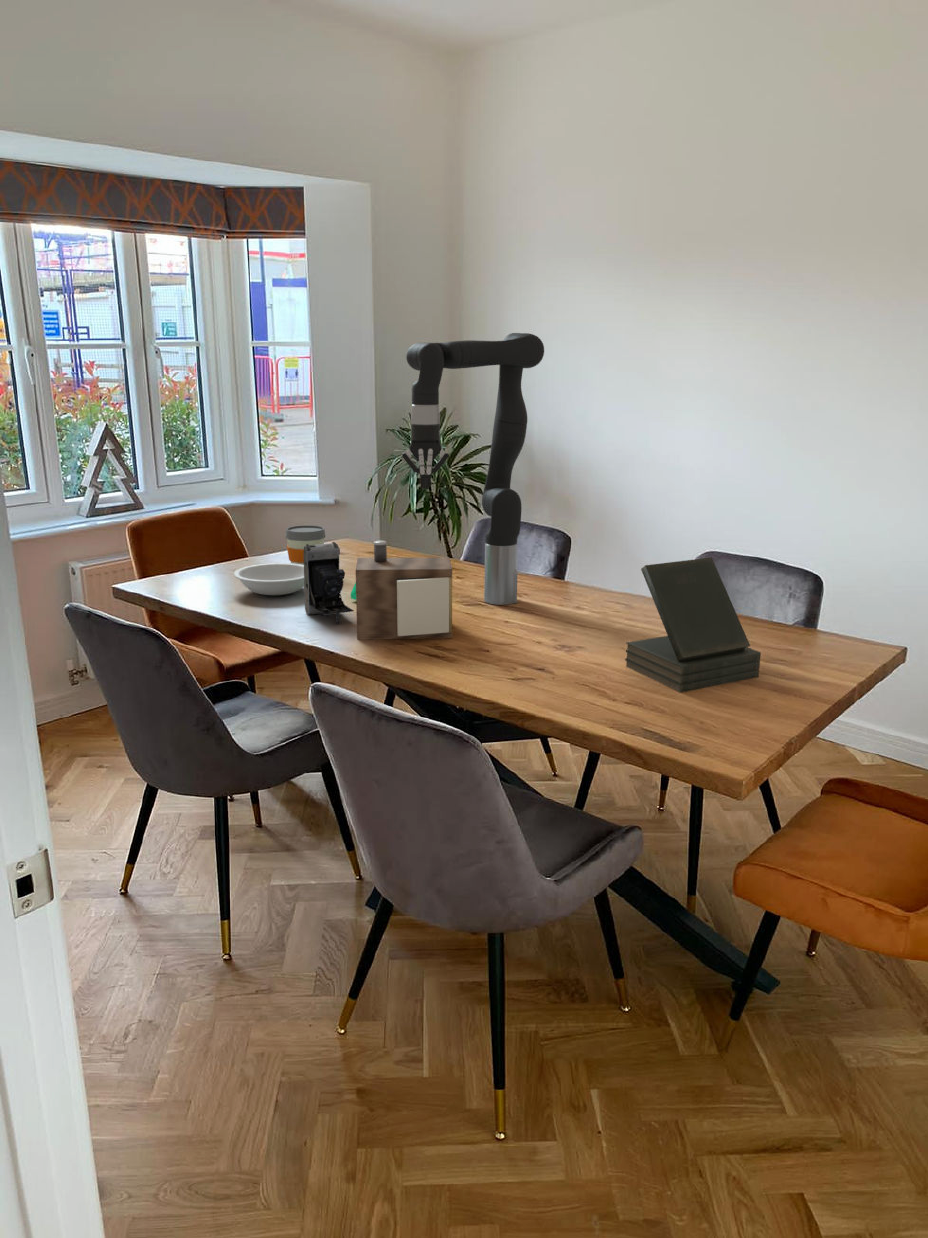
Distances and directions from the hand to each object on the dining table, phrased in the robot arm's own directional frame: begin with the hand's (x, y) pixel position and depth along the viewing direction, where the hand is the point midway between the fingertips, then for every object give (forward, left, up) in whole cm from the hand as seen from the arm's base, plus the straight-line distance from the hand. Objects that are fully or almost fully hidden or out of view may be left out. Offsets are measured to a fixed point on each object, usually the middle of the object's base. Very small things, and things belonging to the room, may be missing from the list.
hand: (425, 488), depth 256 cm
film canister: (+12, +12, -17) cm, 24 cm away
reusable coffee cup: (+37, -50, -35) cm, 71 cm away
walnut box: (+6, +15, -35) cm, 39 cm away
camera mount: (+14, -17, -35) cm, 42 cm away
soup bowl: (+44, -26, -35) cm, 62 cm away
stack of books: (-59, +50, -36) cm, 86 cm away
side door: (+1, +24, -33) cm, 41 cm away
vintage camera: (+26, +2, -35) cm, 44 cm away
